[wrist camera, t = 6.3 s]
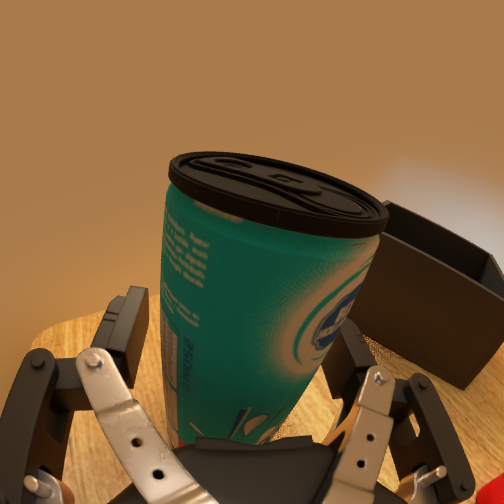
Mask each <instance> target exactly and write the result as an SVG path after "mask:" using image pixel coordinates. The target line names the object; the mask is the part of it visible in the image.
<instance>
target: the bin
mask: <svg viewBox="0 0 504 504" xmlns="http://www.w3.org/2000/svg"><path fill="white" fill-rule="evenodd" d="M382 204H383V205H384V206H385V207H386V208H387V210H388V212H389V215H390V217H389V220H388V222H387V225H386V228H385V230H384V231H383V232H382V233H380V234H379V244H378V247H377V249H376V252H375V254H374V257H373V259H372V262H371V264H370V266H369V269H368V271H367V273H366V276H365V278H364V280H363V283H362V285H361V287H360V289H359V291H358V294H357V296H356V298H355V300H354V302H353V304H352V306H351V308H350V310H349V312H348V315H347V317H348V319H349V320H352V321H353V322H354V323H355V324H356V325H357V326H358V327H359V329H360V331H361V333H363V334H365V335H366V336H368V337H370V338H372V339H373V340H375V341H377V342H378V343H380V344H382V345H384V346H385V347H387V348H389V349H391V350H392V351H394V352H396V353H398V354H399V355H401V356H403V357H405V358H406V359H408V360H410V361H412V362H413V363H415V364H417V365H419V366H420V367H422V368H424V369H426V370H428V371H429V372H431V373H433V374H435V375H436V376H438V377H440V378H442V379H444V380H445V381H447V382H449V383H451V384H453V385H454V386H456V387H458V388H460V389H462V390H465V388H466V387H467V386H468V385H469V384H470V383H471V382H472V381H473V380H474V378H475V377H476V376H477V375H478V374H479V373H480V371H481V370H482V369H483V368H484V367H485V365H486V364H487V363H488V362H489V360H490V359H491V358H492V357H493V355H494V354H495V353H496V351H497V350H498V349H499V347H500V346H501V345H502V343H503V342H504V275H503V273H502V271H501V269H500V268H499V266H498V264H497V262H496V260H495V259H494V257H493V255H491V254H489V253H488V252H486V251H485V250H483V249H482V248H480V247H478V246H477V245H475V244H473V243H471V242H469V241H468V240H466V239H464V238H463V237H461V236H459V235H457V234H455V233H453V232H451V231H450V230H448V229H446V228H444V227H442V226H440V225H438V224H436V223H434V222H432V221H430V220H428V219H426V218H424V217H422V216H420V215H418V214H416V213H414V212H412V211H410V210H408V209H406V208H404V207H401V206H399V205H397V204H395V203H393V202H390V201H388V200H387V201H385V202H382Z"/></svg>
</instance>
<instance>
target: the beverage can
mask: <svg viewBox="0 0 504 504" xmlns="http://www.w3.org/2000/svg"><path fill="white" fill-rule="evenodd" d="M168 177H169V179H170V181H171V182H172V183H171V184H170V186H169V188H168V191H167V194H166V202H165V212H164V213H165V214H164V224H163V238H162V253H161V254H162V255H161V281H160V333H161V358H162V374H163V387H164V398H165V408H166V418H167V426H168V434H169V437H170V441H171V442H172V444H173V446H174V448H176V447H179V446H182V445H186V444H191V443H195V438H196V436H197V437H210V438H227V439H231V440H235V441H239V442H244V443H248V444H253V445H260V444H264V443H268V442H270V440H271V439H272V438H273V436H274V435H275V434H276V432H277V431H278V430H279V428H280V427H281V425H282V424H283V422H284V421H285V420H286V418H287V417H288V415H289V414H290V412H291V411H292V409H293V408H294V406H295V405H296V403H297V402H298V400H299V399H300V397H301V396H302V394H303V393H304V391H305V389H306V388H307V386H308V385H309V383H310V381H311V380H312V378H313V377H314V375H315V373H316V372H317V370H318V368H319V366H320V365H321V363H322V361H323V359H324V358H325V356H326V354H327V352H328V351H329V349H330V347H331V345H332V343H333V341H334V340H335V338H336V336H337V334H338V332H339V330H340V328H341V326H342V324H343V322H344V320H345V318H346V317H347V315H348V312H349V310H350V308H351V306H352V304H353V302H354V300H355V298H356V296H357V294H358V291H359V289H360V287H361V285H362V283H363V280H364V278H365V276H366V273H367V271H368V269H369V266H370V264H371V262H372V259H373V257H374V254H375V252H376V249H377V247H378V244H379V234H380V233H382V232H383V231H384V230H385V228H386V225H387V222H388V220H389V217H390V215H389V212H388V210H387V208H386V207H385V206H384V205H383V204H382V203H381V202H380V201H378V200H377V199H376V198H375V197H373V196H371V195H370V194H368V193H366V192H365V191H363V190H361V189H359V188H357V187H355V186H353V185H351V184H349V183H347V182H345V181H342V180H340V179H338V178H335V177H333V176H330V175H327V174H325V173H321V172H319V171H316V170H313V169H310V168H306V167H303V166H299V165H296V164H292V163H288V162H284V161H280V160H275V159H271V158H266V157H260V156H254V155H248V154H240V153H229V152H213V151H211V152H210V151H209V152H208V151H205V152H191V153H185V154H181V155H178V156H177V157H175V158H173V159H172V160H171V161H170V165H169V173H168Z"/></svg>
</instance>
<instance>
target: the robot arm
mask: <svg viewBox="0 0 504 504" xmlns="http://www.w3.org/2000/svg"><path fill="white" fill-rule="evenodd" d="M148 325H149V296H148V288H143V287H137V286H130V288H129V290H128V292H127V295H126V297H124V296H117V297H116V298H114V299H113V300H112V301H111V302H110V303H109V305H108V307H107V310H106V313H105V314H104V316H103V319H102V320H101V323H100V325H99V327H98V329H97V332H96V334H95V336H94V339H93V341H92V344H91V346H90V348H87V349H85V350H83V351H82V352H80V353H79V355H78V356H77V357H75V358H56V359H55V358H54V356H53V354H52V353H51V352H50V351H48V350H47V349H43V348H37V349H33V350H31V351H30V352H28V353H27V354H26V356H25V357H24V359H23V361H22V364H21V366H20V368H19V370H18V373H17V375H16V377H15V380H14V382H13V385H12V387H11V390H10V392H9V395H8V398H7V400H6V403H5V406H4V409H3V412H2V415H1V418H0V504H75V499H74V496H73V493H72V492H71V490H70V489H69V487H68V486H67V485H65V484H64V483H63V482H62V475H63V468H64V461H65V455H66V449H67V444H68V438H69V433H70V429H71V424H72V420H73V415H74V411H82V410H94V412H95V416H96V418H97V420H98V422H99V424H100V426H101V428H102V430H103V432H104V434H105V436H106V438H107V440H108V442H109V444H110V446H111V447H112V449H113V451H114V453H115V454H116V456H117V458H118V460H119V461H120V463H121V464H122V466H123V468H124V469H125V471H126V472H127V474H128V476H129V477H130V479H131V480H132V482H133V483H131V484H130V485H129V486H128V487H127V488H125V489H124V490H123V491H122V492H121V493H120V494H118V495H117V496H116V497H115V498H113V499H112V500H111V501H110V502H108V503H107V504H459V503H461V502H463V501H465V500H467V499H469V498H470V497H471V496H472V495H473V493H474V491H475V486H476V484H475V479H474V476H473V473H472V470H471V468H470V465H469V462H468V460H467V457H466V455H465V452H464V450H463V447H462V445H461V443H460V440H459V438H458V436H457V433H456V431H455V429H454V427H453V424H452V422H451V420H450V418H449V416H448V414H447V412H446V410H445V407H444V405H443V403H442V401H441V399H440V397H439V395H438V393H437V391H436V389H435V388H434V386H433V384H432V382H431V380H430V379H429V378H428V377H427V376H425V375H423V374H420V373H415V374H413V375H412V376H411V377H410V378H409V380H403V379H397V378H395V377H394V375H393V374H392V372H391V371H390V370H388V369H387V368H385V367H383V366H378V364H377V362H376V360H375V358H374V356H373V354H372V352H371V350H370V348H369V346H368V345H367V343H366V341H365V339H364V337H362V333H361V331H360V329H359V327H358V326H357V325H356V324H355V323H354V322H353V321H352V320H349V319H348V317H346V318H345V320H344V322H343V324H342V326H341V328H340V330H339V332H338V334H337V336H336V338H335V340H334V341H333V343H332V345H331V347H330V349H329V351H328V352H327V354H326V356H325V358H324V359H323V361H322V363H321V366H322V369H323V372H324V374H325V377H326V380H327V383H328V386H329V389H330V392H331V396H332V399H341V398H342V399H343V403H342V404H341V406H340V408H339V410H338V413H337V415H336V417H335V419H334V422H333V424H332V426H331V428H330V430H329V432H328V434H327V436H326V438H325V439H324V441H323V442H322V443H321V444H320V443H316V442H313V440H312V436H311V435H308V436H297V437H285V438H282V439H278V440H275V441H271V442H268V443H264V444H260V445H253V444H248V443H244V442H239V441H235V440H231V439H227V438H210V437H197V436H196V438H195V443H191V444H186V445H182V446H179V447H176V448H174V449H172V450H171V449H170V448H169V446H168V445H167V444H166V442H165V441H164V440H163V438H162V437H161V435H160V434H159V432H158V431H157V429H156V428H155V427H154V425H153V424H152V422H151V420H150V419H149V417H148V416H147V414H146V413H145V411H144V410H143V408H142V406H141V405H140V403H139V402H138V401H137V400H135V399H134V398H133V396H132V395H131V393H130V391H129V389H128V388H130V389H133V388H134V383H135V379H136V374H137V370H138V365H139V361H140V357H141V353H142V349H143V345H144V341H145V337H146V334H147V330H148ZM412 413H414V415H415V418H416V420H417V422H418V425H419V427H420V433H419V435H418V437H417V436H416V434H415V431H414V429H413V426H412V424H411V421H410V419H409V416H410V415H411V414H412ZM388 445H389V449H390V452H391V455H392V458H393V461H394V464H395V468H396V471H397V474H398V478H399V481H400V483H399V487H398V489H397V490H396V491H395V493H393V492H392V491H390V490H389V489H387V488H386V487H384V486H383V485H382V484H380V483H379V482H377V478H378V475H379V472H380V469H381V466H382V463H383V460H384V456H385V453H386V449H387V446H388Z"/></svg>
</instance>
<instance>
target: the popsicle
mask: <svg viewBox="0 0 504 504" xmlns="http://www.w3.org/2000/svg"><path fill="white" fill-rule="evenodd" d="M477 504H504V473H503V474H501V475H500V476H498V477H497V478H495V479H494V480H492V481H491V482H489V483H488V484H486V485H485V486H484V487H483V488H482V489H481V490H480V491H479V493H478V496H477Z"/></svg>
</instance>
